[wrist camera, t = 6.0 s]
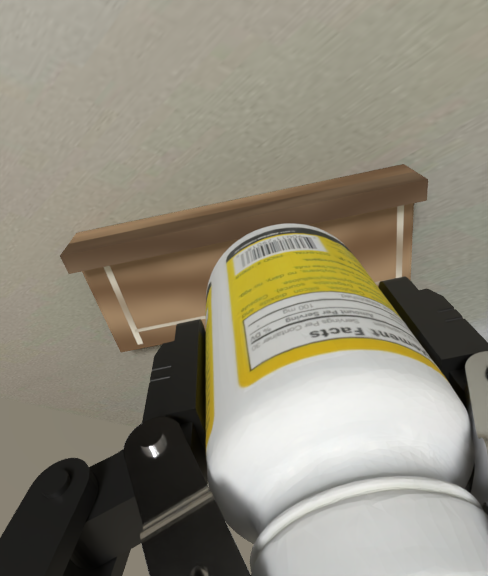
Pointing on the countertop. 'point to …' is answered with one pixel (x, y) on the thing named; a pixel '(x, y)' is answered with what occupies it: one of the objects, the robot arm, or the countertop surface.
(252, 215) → the board
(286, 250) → the supplement bottle
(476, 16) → the countertop surface
